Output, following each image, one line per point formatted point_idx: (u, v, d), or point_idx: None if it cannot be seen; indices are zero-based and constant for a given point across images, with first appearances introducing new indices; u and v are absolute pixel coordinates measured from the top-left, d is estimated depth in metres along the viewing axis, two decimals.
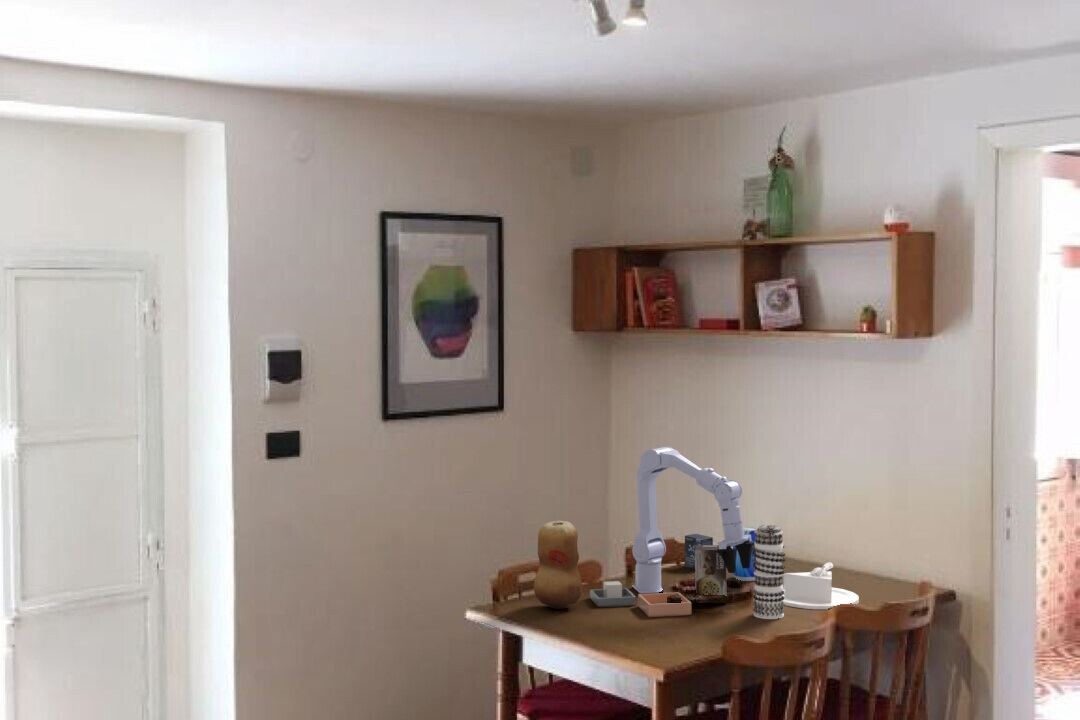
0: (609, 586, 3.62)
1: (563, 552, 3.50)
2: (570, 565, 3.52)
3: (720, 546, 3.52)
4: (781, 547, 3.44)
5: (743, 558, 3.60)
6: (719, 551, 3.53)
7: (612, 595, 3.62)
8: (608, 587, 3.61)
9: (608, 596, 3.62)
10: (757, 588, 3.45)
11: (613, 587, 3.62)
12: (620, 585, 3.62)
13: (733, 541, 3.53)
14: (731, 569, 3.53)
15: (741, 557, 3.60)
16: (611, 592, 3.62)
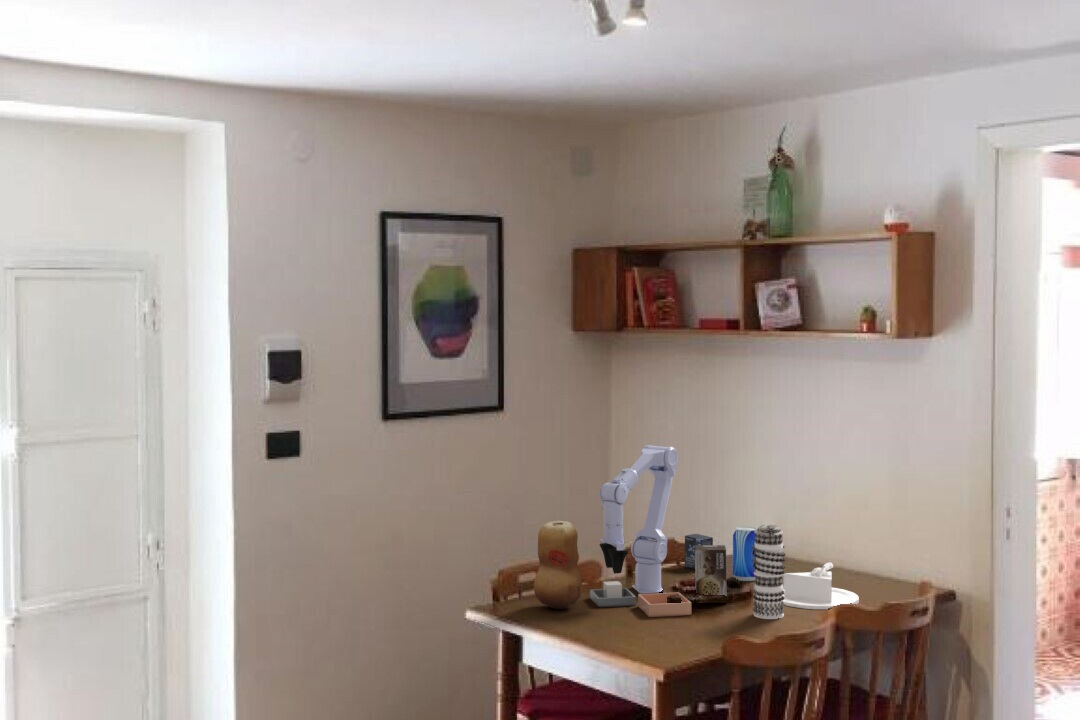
0: (609, 586, 3.62)
1: (563, 552, 3.50)
2: (570, 565, 3.52)
3: None
4: (781, 547, 3.44)
5: None
6: None
7: (612, 595, 3.62)
8: (608, 587, 3.61)
9: (608, 596, 3.62)
10: (757, 588, 3.45)
11: (613, 587, 3.62)
12: (620, 585, 3.62)
13: None
14: None
15: None
16: (611, 592, 3.62)
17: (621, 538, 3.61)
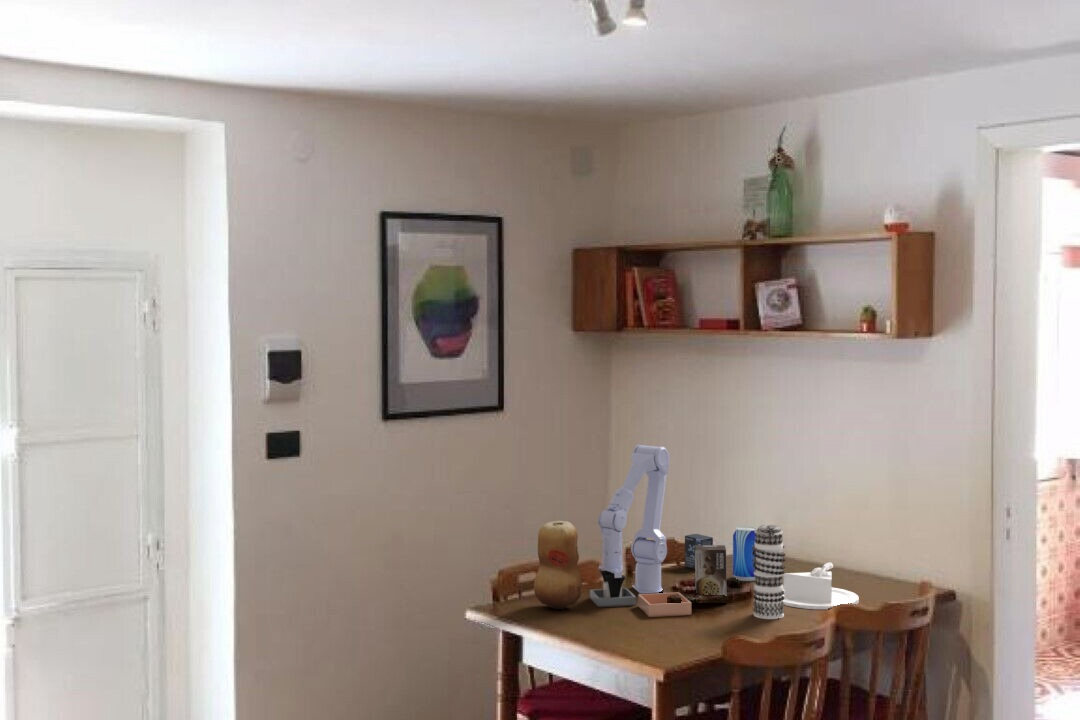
0: None
1: (563, 552, 3.50)
2: (570, 565, 3.52)
3: None
4: (781, 547, 3.44)
5: None
6: None
7: None
8: (608, 587, 3.61)
9: (608, 596, 3.62)
10: (757, 588, 3.45)
11: None
12: None
13: None
14: None
15: None
16: None
17: (620, 565, 3.62)
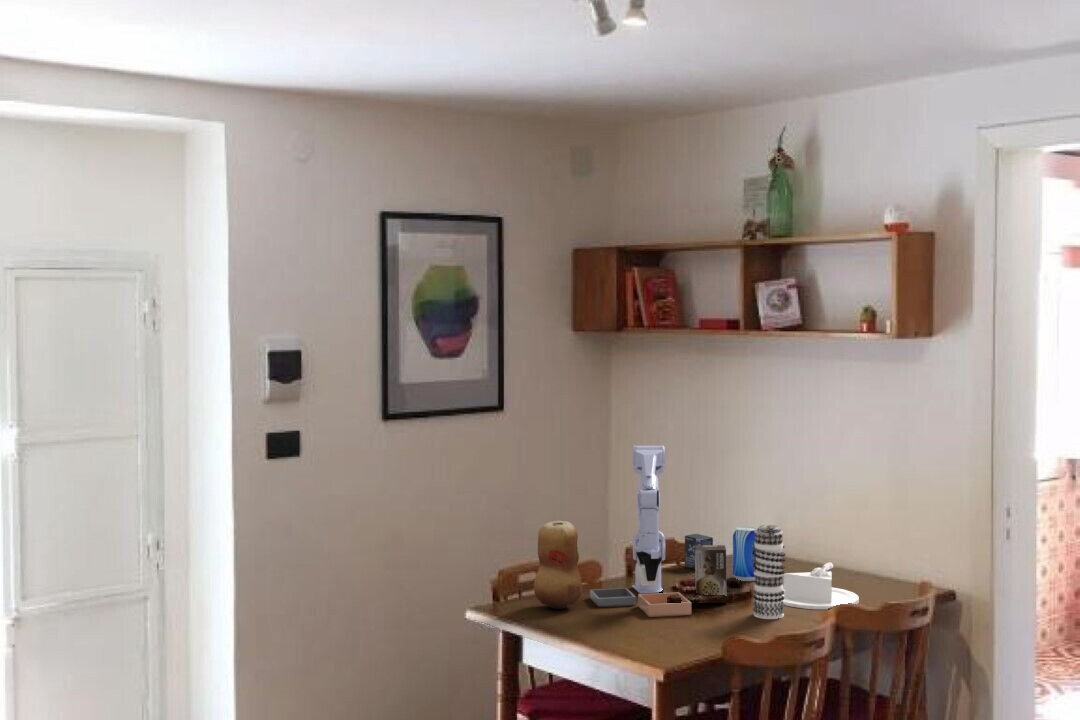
0: (644, 569, 3.53)
1: (563, 552, 3.50)
2: (570, 565, 3.52)
3: None
4: (781, 547, 3.44)
5: None
6: None
7: None
8: (642, 570, 3.53)
9: (643, 579, 3.54)
10: (757, 588, 3.45)
11: None
12: None
13: None
14: None
15: None
16: None
17: (656, 546, 3.54)
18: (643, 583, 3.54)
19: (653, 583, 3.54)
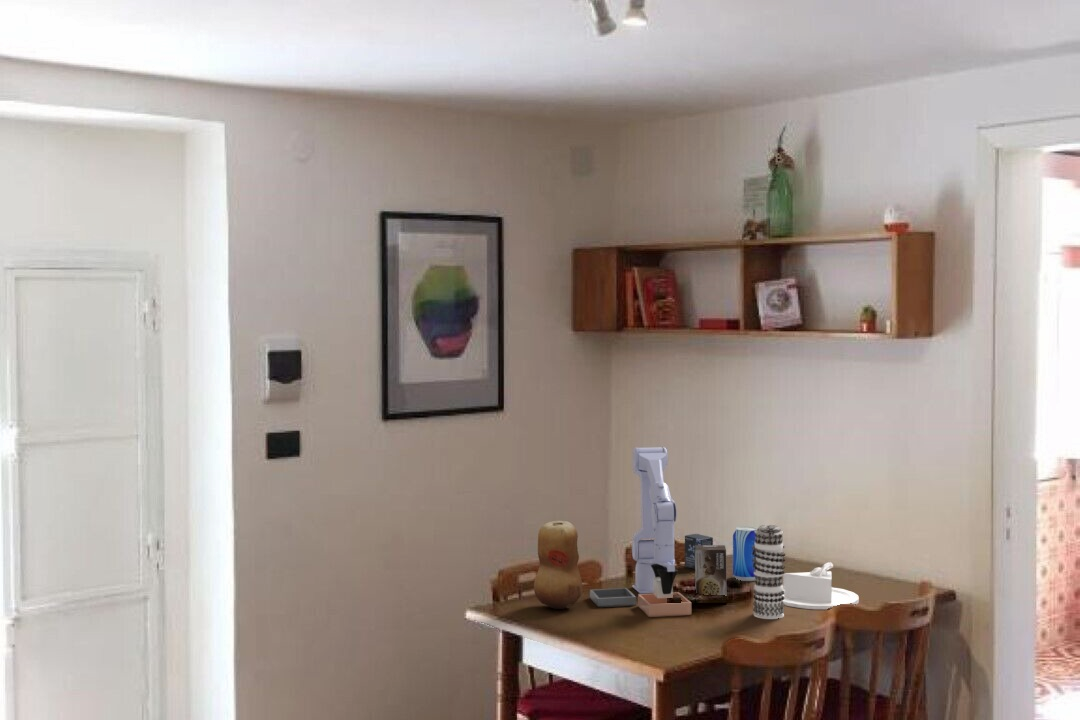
0: (659, 582, 3.51)
1: (563, 552, 3.50)
2: (570, 565, 3.52)
3: None
4: (781, 547, 3.44)
5: None
6: None
7: None
8: (658, 582, 3.51)
9: (658, 592, 3.51)
10: (757, 588, 3.45)
11: None
12: None
13: None
14: None
15: None
16: None
17: (672, 559, 3.51)
18: (659, 596, 3.51)
19: (669, 596, 3.51)
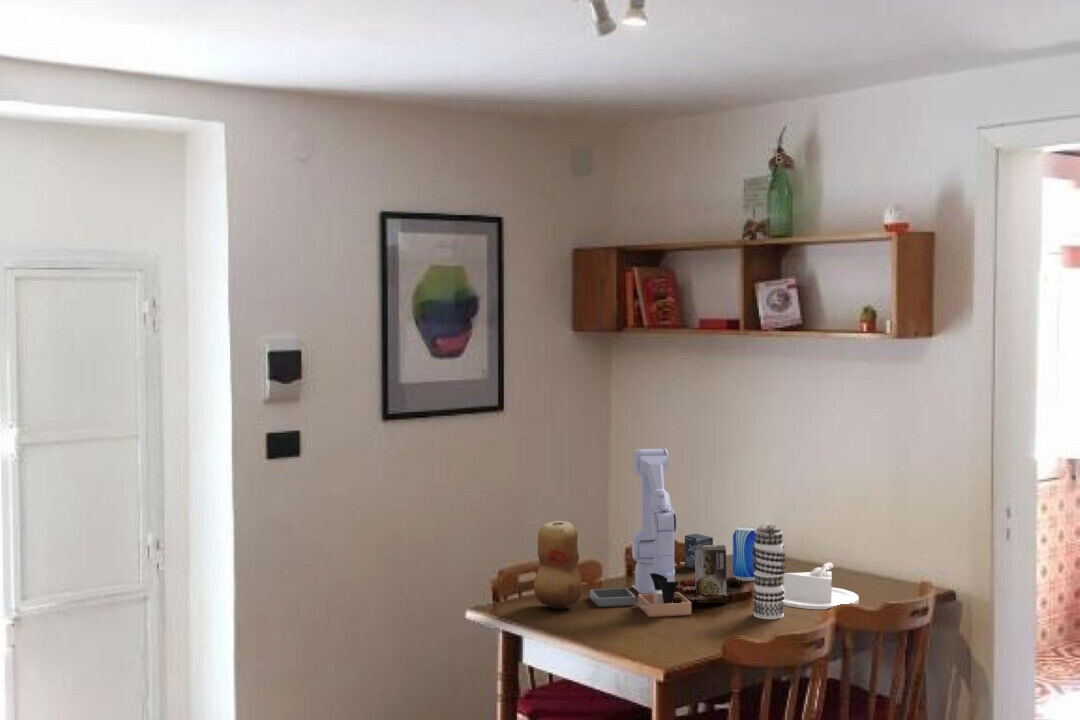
0: (660, 595, 3.51)
1: (563, 552, 3.50)
2: (570, 565, 3.52)
3: None
4: (781, 547, 3.44)
5: None
6: None
7: None
8: (659, 595, 3.51)
9: None
10: (757, 588, 3.45)
11: None
12: None
13: None
14: None
15: None
16: None
17: (672, 569, 3.51)
18: None
19: None
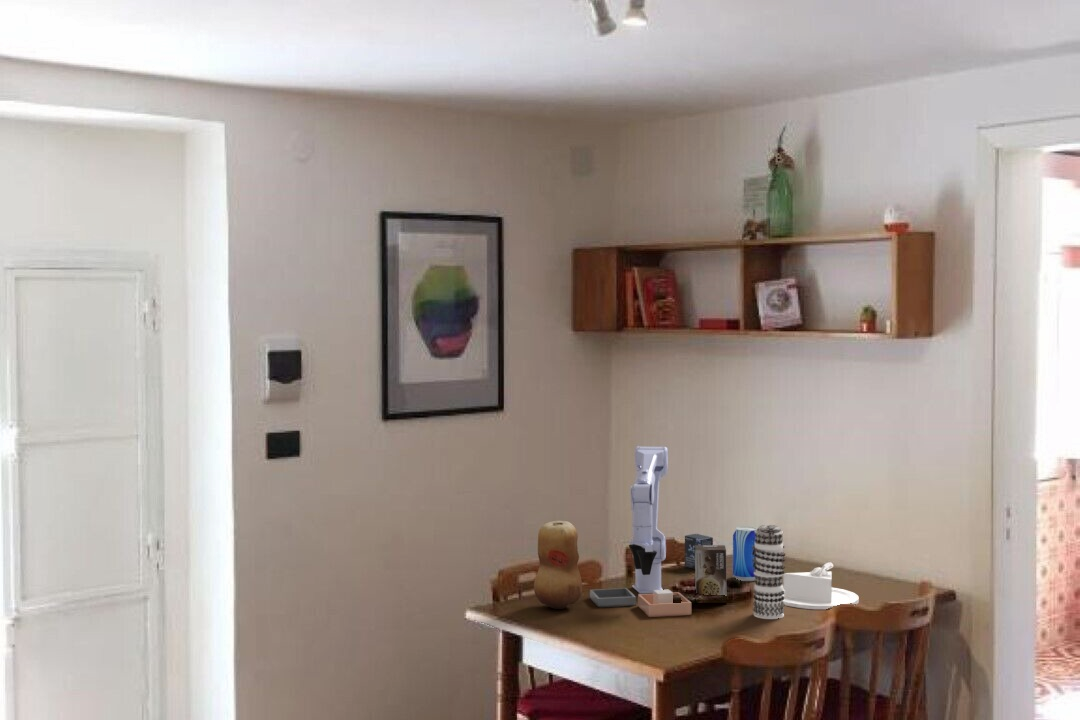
0: (660, 595, 3.51)
1: (563, 552, 3.50)
2: (570, 565, 3.52)
3: None
4: (781, 547, 3.44)
5: None
6: None
7: None
8: (659, 595, 3.51)
9: None
10: (757, 588, 3.45)
11: (664, 596, 3.51)
12: (671, 593, 3.51)
13: None
14: None
15: None
16: (663, 600, 3.51)
17: (650, 539, 3.59)
18: None
19: None
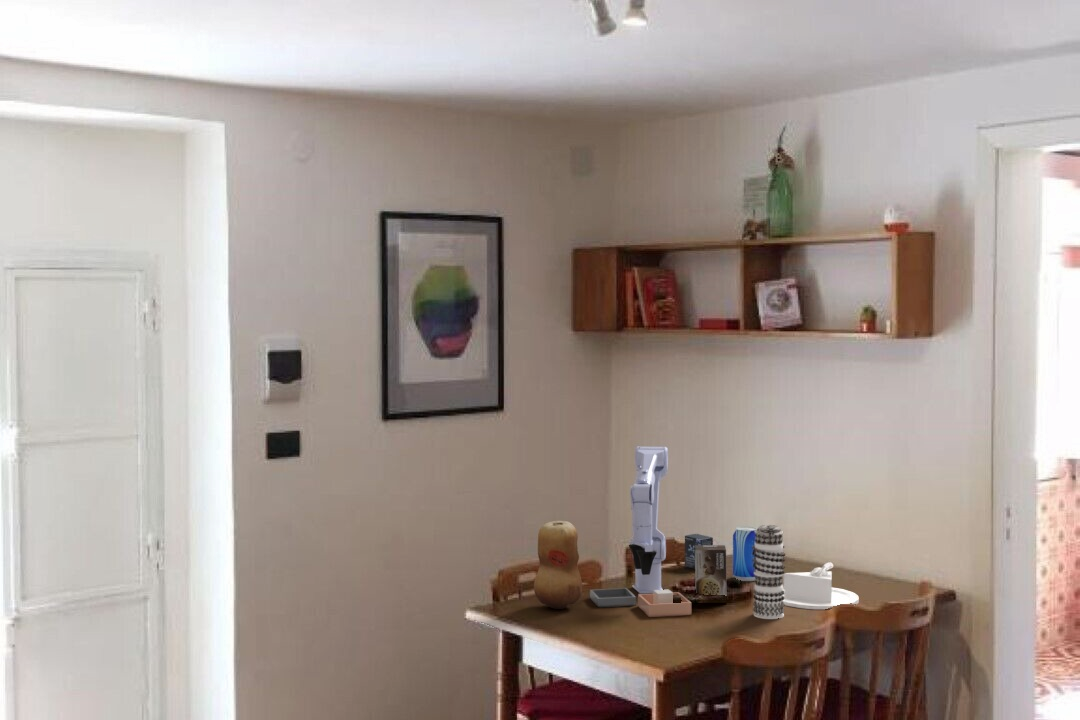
0: (660, 595, 3.51)
1: (563, 552, 3.50)
2: (570, 565, 3.52)
3: None
4: (781, 547, 3.44)
5: None
6: None
7: None
8: (659, 595, 3.51)
9: None
10: (757, 588, 3.45)
11: (664, 596, 3.51)
12: (671, 593, 3.51)
13: None
14: None
15: None
16: (663, 600, 3.51)
17: (650, 539, 3.59)
18: None
19: None
